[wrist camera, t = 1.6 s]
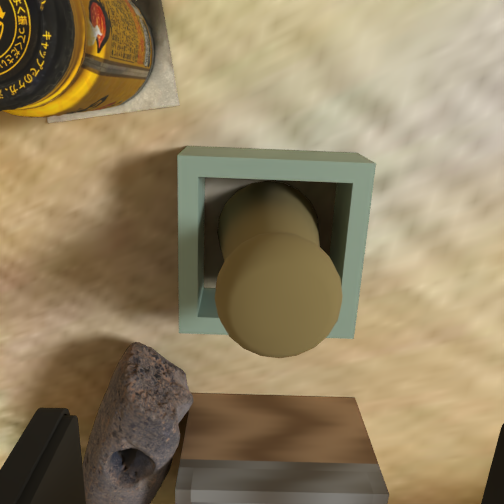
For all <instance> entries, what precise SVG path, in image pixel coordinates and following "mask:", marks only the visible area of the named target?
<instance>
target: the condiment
mask: <svg viewBox="0 0 504 504" xmlns="http://www.w3.org/2000/svg"><path fill="white" fill-rule="evenodd" d="M178 105H179V100H178V94H177V88H176V82H175V76H174V70H173V64H172V58H171V52H170V46H169V41H168V35H167V29H166V24H165V17H164V12H163V7H162V2H161V0H137V1H136V0H0V111H4V112H7V113H10V114H13V115H18V116H28V117H47V121H48V123H54V122H61V121H68V120H75V119H83V118H90V117H97V116H105V115H112V114H119V113H127V112H134V111H141V110H149V109H156V108H163V107H171V106H178Z"/></svg>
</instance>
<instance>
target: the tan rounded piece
mask: <svg viewBox="0 0 504 504" xmlns="http://www.w3.org/2000/svg"><path fill="white" fill-rule="evenodd" d="M217 233H218V237H219V242H220V247H221V251H222V255H223V259H224V264H223V266H222V268H221V270H220V272H219V274H218V277H217V283H216V291H215V303H216V308H217V313H218V317H219V319H220V321H221V323H222V325H223V326H224V328H225V330H226V331H227V333H228V334H229V336H230V337H231V338H232V339H233V340H234V341H236V342H237V343H238V344H239V345H240V346H241V347H243V348H244V349H246V350H249V351H251V352H253V353H256V354H258V355H260V356H267V357H275V358H284V357H290V356H296V355H299V354H301V353H303V352H305V351H308V350H310V349H312V348H314V347H315V346H317V345H318V344H319V343H320V342H321V341H322V340H323V339H325V338H326V337H327V336H328V335H329V334H330V332H331V330H332V329H333V327H334V325H335V324H336V322H337V320H338V317H339V313H340V309H341V304H342V297H343V296H342V287H341V279H340V276H339V274H338V272H337V270H336V268H335V266H334V264H333V262H332V260H331V259H330V257H329V256H328V255H327V254H326V253H325V252H324V251H323V250H322V249H321V248H320V242H319V228H318V220H317V214H316V212H315V210H314V208H313V206H312V204H311V202H310V201H309V200H308V199H307V198H306V197H305V196H304V195H303V194H302V193H301V192H300V191H299V190H297V189H295V188H293V187H291V186H289V185H287V184H285V183H281V182H274V181H263V182H258V183H252V184H250V185H248V186H246V187H244V188H242V189H240V190H239V191H237V192H236V193H235V194H234V195H233V196H232V197H231V198H230V199H229V200H228V201H227V202H226V204H225V206H224V208H223V210H222V212H221V214H220V216H219V223H218V231H217Z"/></svg>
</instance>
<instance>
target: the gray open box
mask: <svg viewBox="0 0 504 504" xmlns="http://www.w3.org/2000/svg"><path fill="white" fill-rule="evenodd" d="M192 395H193V403H192V405H191V407H190V409H189V413H188V419H187V425H186V430H185V436H184V442H183V447H182V453H181V459H180V465H179V470H178V476H177V482H176V487H175V504H387V503H388V498H389V493H388V490H387V487H386V484H385V481H384V479H383V476H382V473H381V470H380V467H379V465H378V462H377V459H376V456H375V453H374V450H373V448H372V445H371V442H370V439H369V436H368V433H367V431H366V428H365V425H364V422H363V419H362V416H361V414H360V411H359V408H358V405H357V402H356V400H355V398H347V397H311V396H276V395H241V394H206V393H192Z"/></svg>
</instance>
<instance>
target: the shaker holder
mask: <svg viewBox="0 0 504 504" xmlns="http://www.w3.org/2000/svg"><path fill="white" fill-rule="evenodd" d="M177 161H178V281H179V333H189V334H221V335H229V334H228V333H227V331H226V330H225V328H224V326H223V325H222V323H221V321H220V319H219V317H218V313H217V308H216V303H215V291H216V288H204V201H205V177H214V178H239V179H264V180H289V181H314V182H337V186H336V196H335V206H334V216H333V225H332V235H331V245H330V255H329V257H330V259H331V260H332V262H333V264H334V266H335V268H336V270H337V272H338V274H339V276H340V279H341V287H342V296H343V297H342V304H341V309H340V313H339V317H338V320H337V322H336V324H335V325H334V327H333V329H332V330H331V332H330V334H329V335H328V336H327V337H326V338H347V339H354V333H355V325H356V317H357V309H358V301H359V293H360V285H361V277H362V269H363V261H364V254H365V246H366V238H367V230H368V222H369V214H370V206H371V198H372V190H373V182H374V174H375V167H376V163H374V162H372V161H371V160H369V159H367V158H365V157H364V156H362V155H360V154H358V153H347V152H323V151H299V150H275V149H251V148H227V147H203V146H186V147H185V148H184V149H183V150H182V151H181V152H180V153H179V154H178V155H177Z"/></svg>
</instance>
